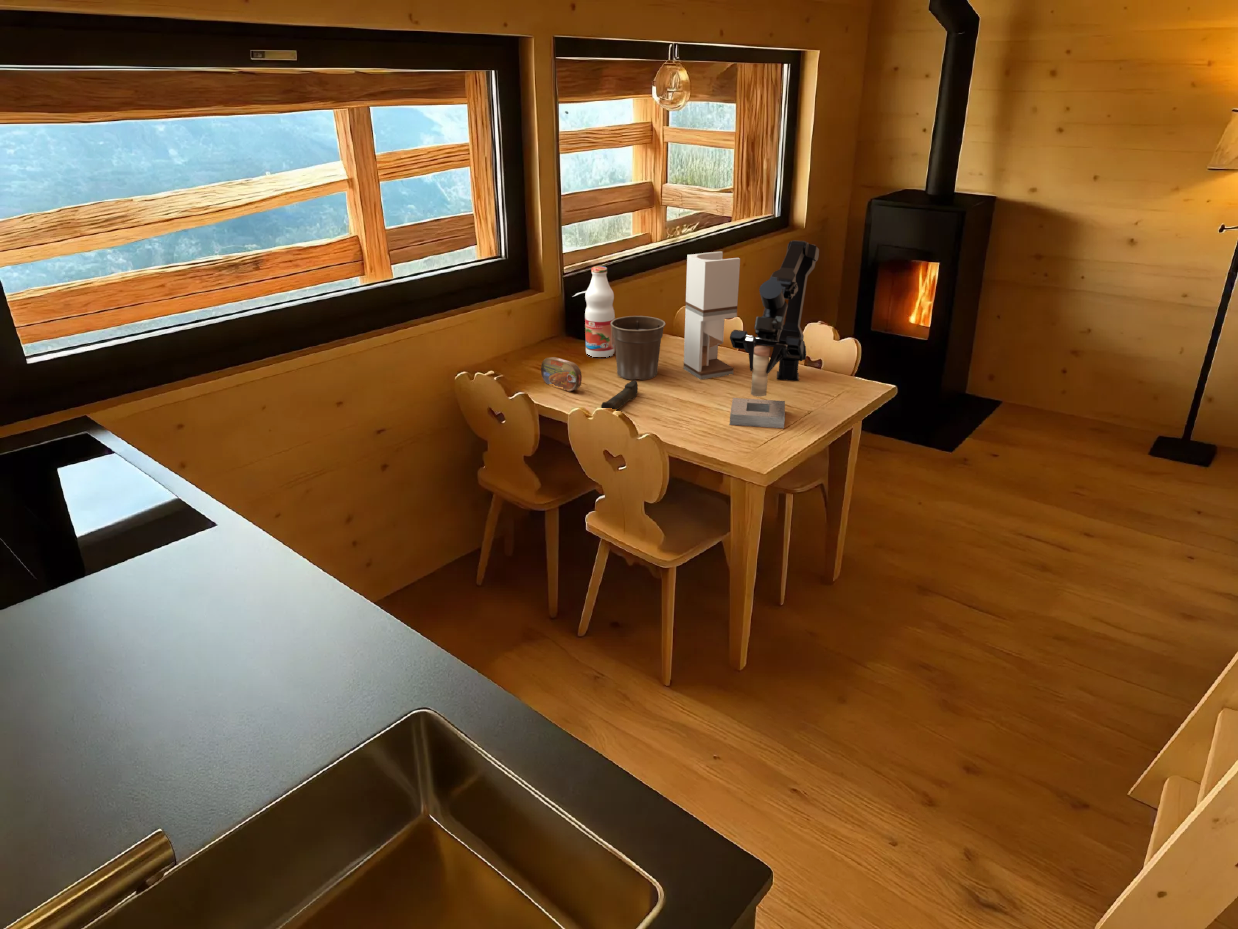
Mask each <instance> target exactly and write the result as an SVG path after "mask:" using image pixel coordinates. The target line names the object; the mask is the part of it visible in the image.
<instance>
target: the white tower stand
mask: <svg viewBox="0 0 1238 929" xmlns="http://www.w3.org/2000/svg"><path fill="white" fill-rule="evenodd" d="M723 253H724V251H713V252H712V251H711V252H703V253H702V252H701V253H695V254H694V253H693V254H692V253H691V254H687V257H686V260H687V261H686V285H685V287H686V288H685V313H684V315H685V316H684V318H685V320H684V339H683V342H684V347H683V348H684V349H683V370H684V371H686V372H688V373H689V374H690V375H692V376H694V377H696V378H697V379H699V380H706V379H712V377H713V378H719V377H724V376H725V375H726V376H730V375H729V374H732V375H734V369H735V368H734V367H733V366H731V365H730V364H729V363H726V362H724V361H723V360H720V359H719V358H718V356H719V355H718V353H719V352H718V351H719V346H720V345H722V344H724V334H725V333H724V332H725V319H732V318H737V317H738V298H739V283H740V268H741V267H740V265H741V258H739V257H733V258H723V256H724V255H723Z"/></svg>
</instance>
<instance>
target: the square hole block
mask: <svg viewBox="0 0 1238 929" xmlns="http://www.w3.org/2000/svg"><path fill="white" fill-rule="evenodd" d="M731 400H732V401H731V407H730V413H729V425H730V426H740V427H741V426H743V427H757V428H773V429H784V428H785V419H786V411H785V410H786V401H785V400H775V399H759V398H757V399H756V398H743V397H742V398H739V397H732V399H731Z"/></svg>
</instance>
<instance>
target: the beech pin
mask: <svg viewBox="0 0 1238 929" xmlns="http://www.w3.org/2000/svg"><path fill="white" fill-rule="evenodd" d="M770 351H771V348H770V346H762V345H756V347H754V358H753V370H752V371H751V375H752V376H751V388H750V395H752V396H754V397H758V398H759V397H760V398H762V397H765V396H767V389H768V380H769V379H768V376H769V373H768V374H767V373H766V371H767V366H768V363H769V361H770V354H771V352H770Z"/></svg>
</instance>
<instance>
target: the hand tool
mask: <svg viewBox="0 0 1238 929" xmlns="http://www.w3.org/2000/svg"><path fill="white" fill-rule="evenodd" d="M638 386H639V385H638V381H637V379H635V380H631V381H630V382H627V383H626V384H625V385H624V388H623V389H622V390H620V391H619V392H618V393H617V394H615V395H613V396H612V397H611V398H610V399H608V400H607V401H605V402H602V403H601V406H600V409H601V408H612V409H617V410H618V409H620V408H621V407H623V406H624V405H625V404H627V403H628V402H629V401H634V399H635V398H636V397H637V395H638V394H639V393H638V392H639V391H638V390H639V388H638Z"/></svg>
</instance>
